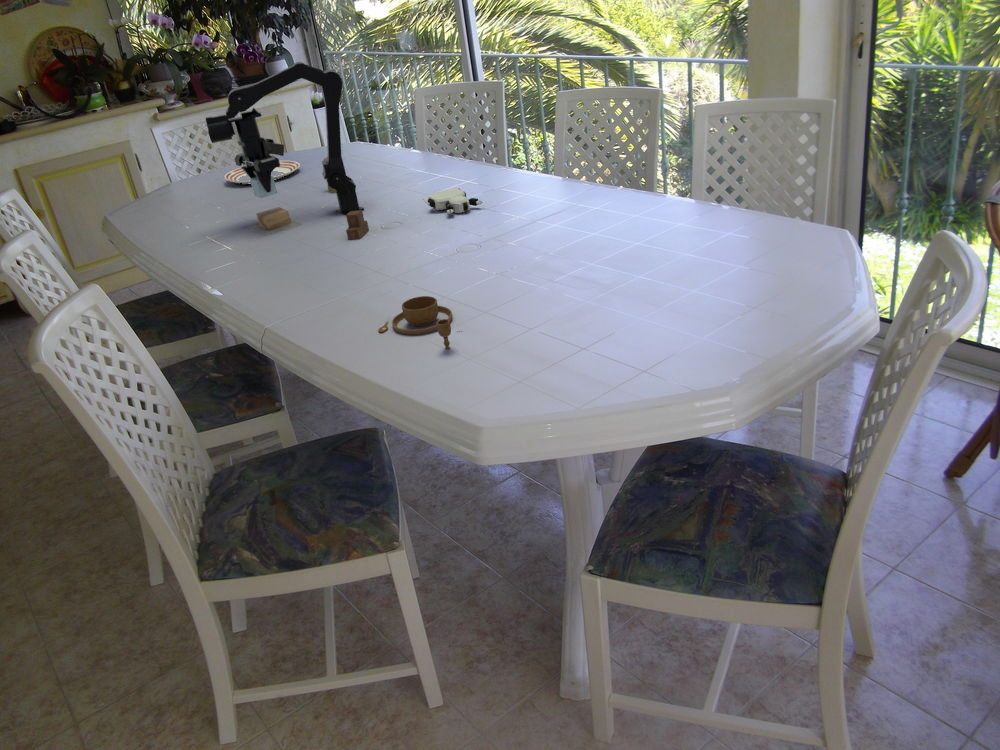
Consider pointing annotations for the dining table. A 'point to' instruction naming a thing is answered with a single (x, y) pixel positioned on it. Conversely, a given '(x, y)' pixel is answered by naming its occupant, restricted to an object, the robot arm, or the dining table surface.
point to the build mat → (265, 232)
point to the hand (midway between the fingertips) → (265, 190)
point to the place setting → (423, 318)
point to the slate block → (259, 189)
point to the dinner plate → (284, 167)
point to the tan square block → (273, 218)
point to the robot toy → (451, 201)
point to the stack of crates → (356, 225)
